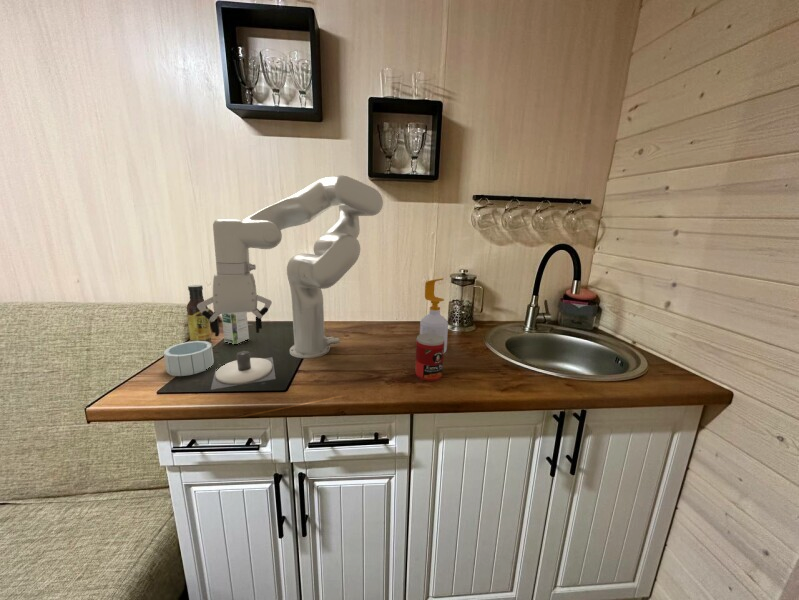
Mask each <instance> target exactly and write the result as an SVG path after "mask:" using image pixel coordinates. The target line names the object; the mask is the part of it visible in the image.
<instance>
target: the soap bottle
mask: <svg viewBox="0 0 799 600" xmlns="http://www.w3.org/2000/svg"><path fill="white" fill-rule="evenodd" d="M443 280H444V278H436V279H431V280H427V281H425V285H424V299H425V300H427V301H430V303H431V304H432V305H431V306H430V307H429V312H428V313H429V314H426V315H424V316H423V317H422V318H421V319H420V323H419V324H420V326H419V335H420V334H425V333H432V334H437V335H440V336H442V337H443V338H444V354H445V353H446V352H447V347H448V333H449V322H448V319H447V318H446V317H444V316H443V315H441V307H439V305H438V304H440V302H443V301H444V300H445V299H444V298H441V297H438V296H437V297H436V295H435V284H436V282H438V281H443Z"/></svg>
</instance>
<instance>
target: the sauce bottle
mask: <svg viewBox="0 0 799 600" xmlns="http://www.w3.org/2000/svg"><path fill="white" fill-rule="evenodd" d="M187 290H188V292H189V301H188V302H187V305H186V314H187V315H186V317H187V325H188V335H189V340H190V342H192V341H206V342H209V343H211V341H212V327H211V321H210V320H209V319H207V318H206V317H205V316H203V315H202V313H201V312H200V310H199V309H198V308H197V305H198V304H199V303H201V302H203V301H205V299H204V296H203V295H204V294H203V285H201V284H192V285H188V286H187ZM205 308H206V309H207V310H208V311H209V312H210V309H209V307H208V305H207V306H205Z"/></svg>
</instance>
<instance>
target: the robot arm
mask: <svg viewBox="0 0 799 600" xmlns="http://www.w3.org/2000/svg"><path fill="white" fill-rule="evenodd" d="M382 196H383V195H381V193H380V191H379V190H378V189H377V188H375V187H372V186H371V185H368V184H366V183H363V182H362V181H359V180H357V179H355V178H353V177H350V176H348V175H342V174H341V175H333V176H326V177H322V178H320V179H318V180H316V181H314V182H312V183H310V184H309V185H308V186H305V188H303V189H301V190H299V191H298V192H296V193H294V194H292V195H291V196H288V197H286V198H284V199H281V200H279V201H277V202H276V203H273V204H271V205H268V206H267V207H264V208H262V209H260V210H258V211H257V212H255V213H253V214H251V215H249V216H248V217H245V218H244V219H243V220H241V219H227V218H222V219H221V218H220V219H216V220H214V221H213V224H212V230H213V243H214V255H215V267H216V273H215V274H214V275H213V281H212V282H213V283H212V296H211V297H209V298H206V299H204V301H203V302H201V303H199V304H198V305H197V308H198V309H199V310H200V312H201V313H202V315H203V316H205V317H206V318H207V319H209V320H210V326H211V334H213V333H214V336H215V337H219V335H220V322H219V319H218V317H220V315H222V314H232V313H247V314H248V313H252V314H253V315H254V316H255V332H256V333H257V334H259V333H260V330H261V329H262V328H263V325H262V323H263V322H262V318H263V316H265V314H267V313H268V311H269V309H270V308H271V306H272V300H271V299H269V298H266V297H264V296H261V295H259V294H257V293H258V292H257V285H256V280H255V277H254V276H255V275H254V273H251V271H253V270H256V269H257V268H256V267H257V266H256V264H253V263H251V262H250V255H249V254H250V253H249V249H259V250H260V249H261V250H272V249H274V248H276V247H277V246H279V244H280V243H281V241H282V239H283V232H282V230H285V229H289V228H293V227H298V226H302V225H305V224H308V223H310V222H311V221H313V220H314V219H316V218H317V217H319V216H321V214H324V213H325V212H326V211H328V210H329V209H331V208H332V207H335V206H338V211H339V213H338V218H337V221H336V222H334V224H333V225H332V226H331V227H329V228H328V229H327V230H326V231H325V232H324V233H323V234H322V235H321V236H319V237H318V238H317V240H316V241H315V242H314V245H313V253H303V252H302V253H297V254H295V255H293V256H292V257H291V258H290V259H289V261H288V263H287V264H286V265H287V266H286V275H287V280H288V281H287V282H288V285H289V289H290V295H291V297H290V298H291V311H292V313H291V314H292V326H293V327H292V329H293V339H294V340H293V343H294V344H293V345H292V346H291V347H290V348H289V354H290V356H292V357H294V358H297V359H313V358H314V359H315V358H319V357H322V356H324V355H327V354H328V353H329V352H330V350H331V348H330V347H331V346H330V345H337V344H340V337H334V336H328V337H327V336H326V334H325V315H324V313H325V312H324V311H325V310H324V309H325V308H324V295H323V289H324V290H325V289H329V288H331V287H333V286H334V285H335V284H336V283H338V281H340V280H341V278H342V277H344V276H345V275H346V273H348V272H349V271H350V269H352V267H353V266H354V265H355V264H356V263H357V261H358V259H359V258H360V254H361V244H360V241H359V240H358V237H359V235H360V233H361V231H360V230H361V229H360V226H361V225H360V218H359V216H360V217H373V216H374V217H375V216H376V215H378V214H379V213H380V212H381V211H382V209H383V206H384V201H383V197H382ZM258 302H260V303H263V304H264V307H262V308H261V309H259V308H258ZM209 305H213V306H212V307H213V313H212V312H211V311H210V310H209V311H208V310H207V309H206V308H205V306H207V307H208V306H209Z"/></svg>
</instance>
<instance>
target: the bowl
mask: <svg viewBox="0 0 799 600" xmlns="http://www.w3.org/2000/svg"><path fill="white" fill-rule="evenodd" d="M212 345H213V344H212V343H211V342H206V341H192V342H191V341H186V342H182V343H177V344H174V345H171V346H169V347H168V348H166V349H164V351H163V359H164V364H165V370H166V374H168V375H170V376H173V377H175V376H176V377H184V376H191V375H197V374H199V373H202V372H205V371H207V370H209V369H210V368H212V367H213V366H214V362H215V360H214V353H213V347H212ZM212 365H213V366H212ZM211 366H212V367H211ZM209 367H210V368H209ZM208 368H209V369H208ZM206 369H207V370H206Z"/></svg>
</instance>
